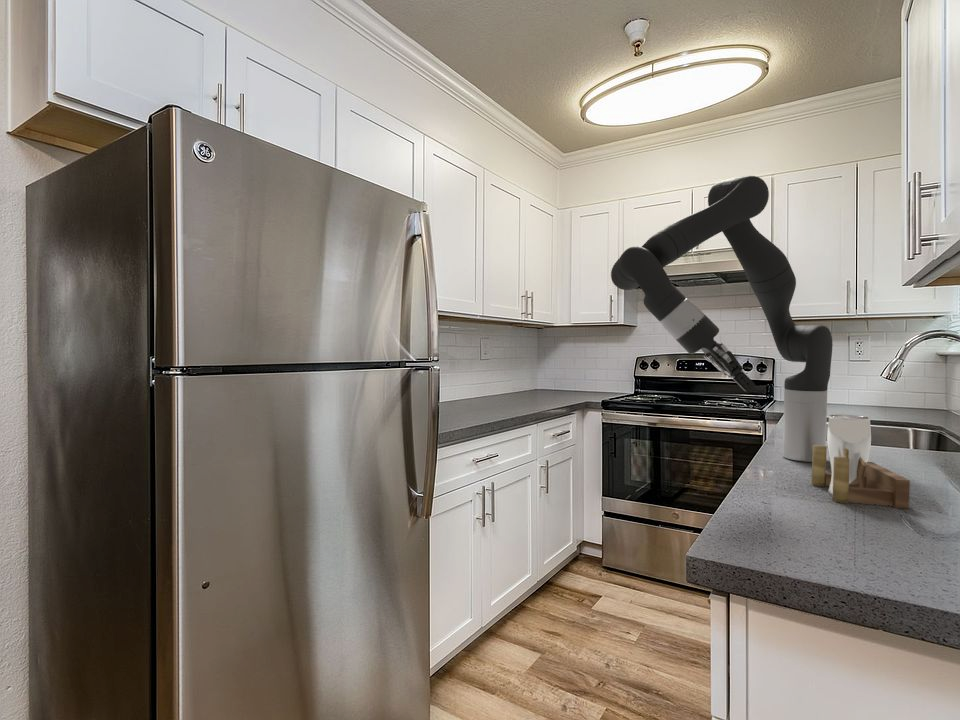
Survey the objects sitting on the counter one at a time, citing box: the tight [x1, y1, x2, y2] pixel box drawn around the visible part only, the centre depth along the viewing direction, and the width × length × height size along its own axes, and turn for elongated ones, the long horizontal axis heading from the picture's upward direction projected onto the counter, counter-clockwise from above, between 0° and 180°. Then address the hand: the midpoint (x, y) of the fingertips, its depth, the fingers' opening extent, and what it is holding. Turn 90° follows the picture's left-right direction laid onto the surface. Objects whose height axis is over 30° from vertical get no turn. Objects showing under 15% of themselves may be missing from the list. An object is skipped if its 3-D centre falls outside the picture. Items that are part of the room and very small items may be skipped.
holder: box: [811, 445, 911, 510], centre depth 104 cm, size 15×11×8 cm
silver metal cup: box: [826, 413, 872, 495], centre depth 104 cm, size 7×7×15 cm
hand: (750, 388), depth 109 cm, fingers closed
